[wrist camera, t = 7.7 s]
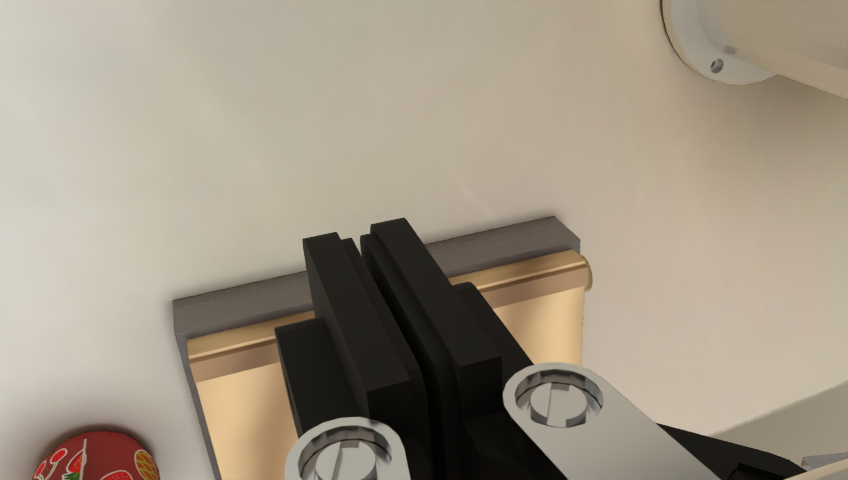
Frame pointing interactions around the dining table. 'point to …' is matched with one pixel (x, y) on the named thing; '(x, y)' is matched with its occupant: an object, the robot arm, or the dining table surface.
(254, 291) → the stand
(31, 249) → the dining table surface
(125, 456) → the smoothie
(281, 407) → the tan flat piece
